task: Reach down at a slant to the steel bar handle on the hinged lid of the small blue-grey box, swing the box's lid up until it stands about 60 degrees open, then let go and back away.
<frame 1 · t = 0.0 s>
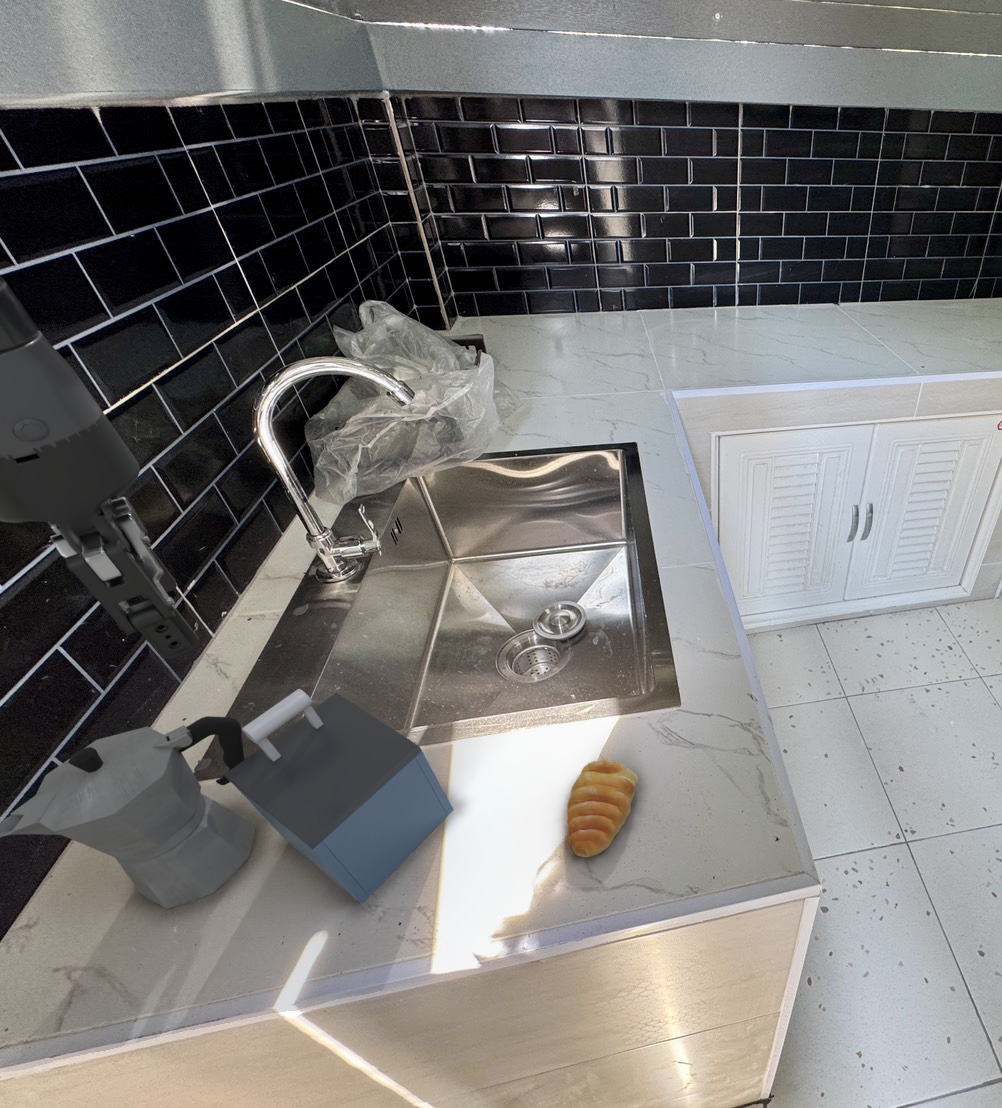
hand: (172, 620, 45), 28 cm above the worktop, tool pointing down, fingers open, 8 cm apart
blue-grey box: (372, 825, 62), on the worktop
pastry: (604, 810, 64), on the worktop
washer lid: (314, 747, 53), point 14 cm above the worktop, hinge at 0.0°
coffeepot: (216, 851, 60), on the worktop
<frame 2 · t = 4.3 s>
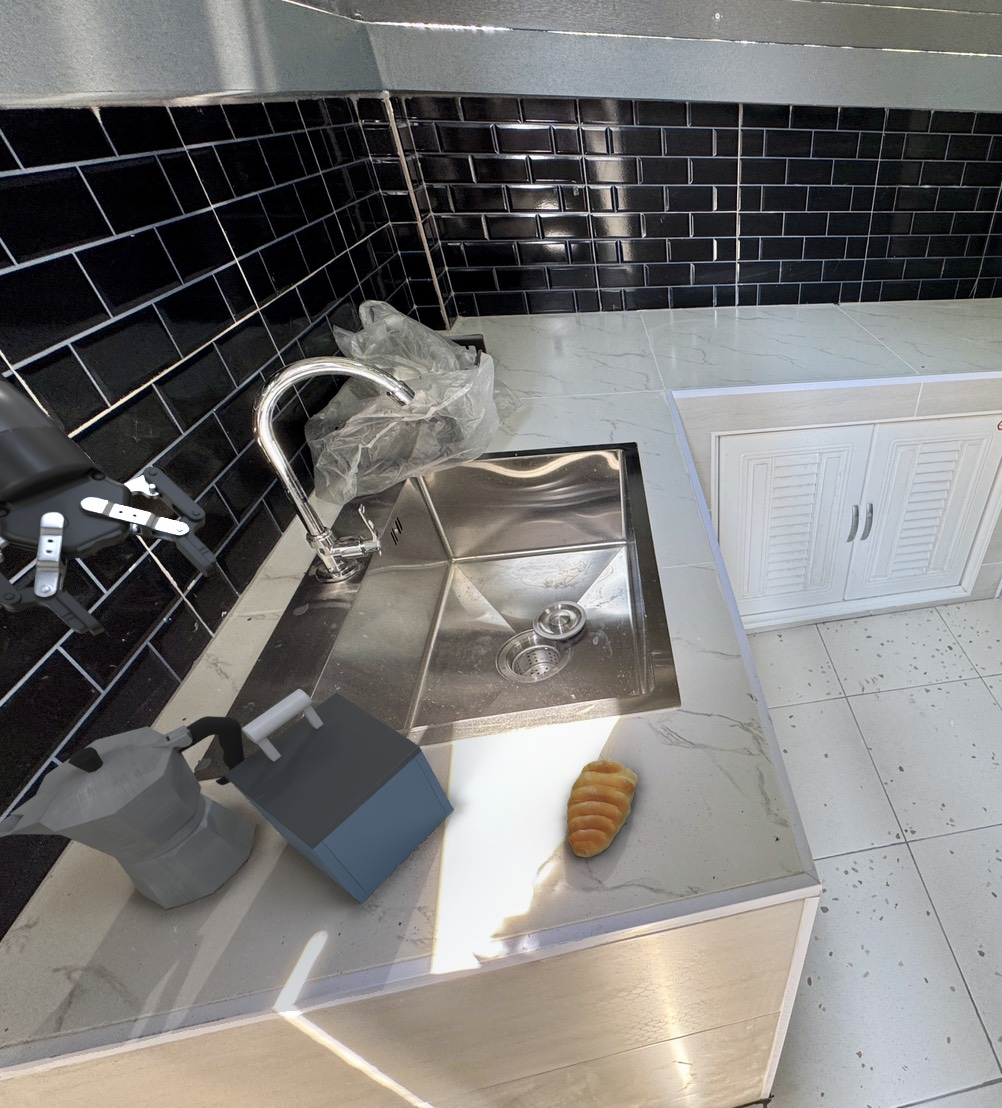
hand: (157, 600, 53), 24 cm above the worktop, tool tilted 45°, fingers open, 8 cm apart
nothing on the worktop moved.
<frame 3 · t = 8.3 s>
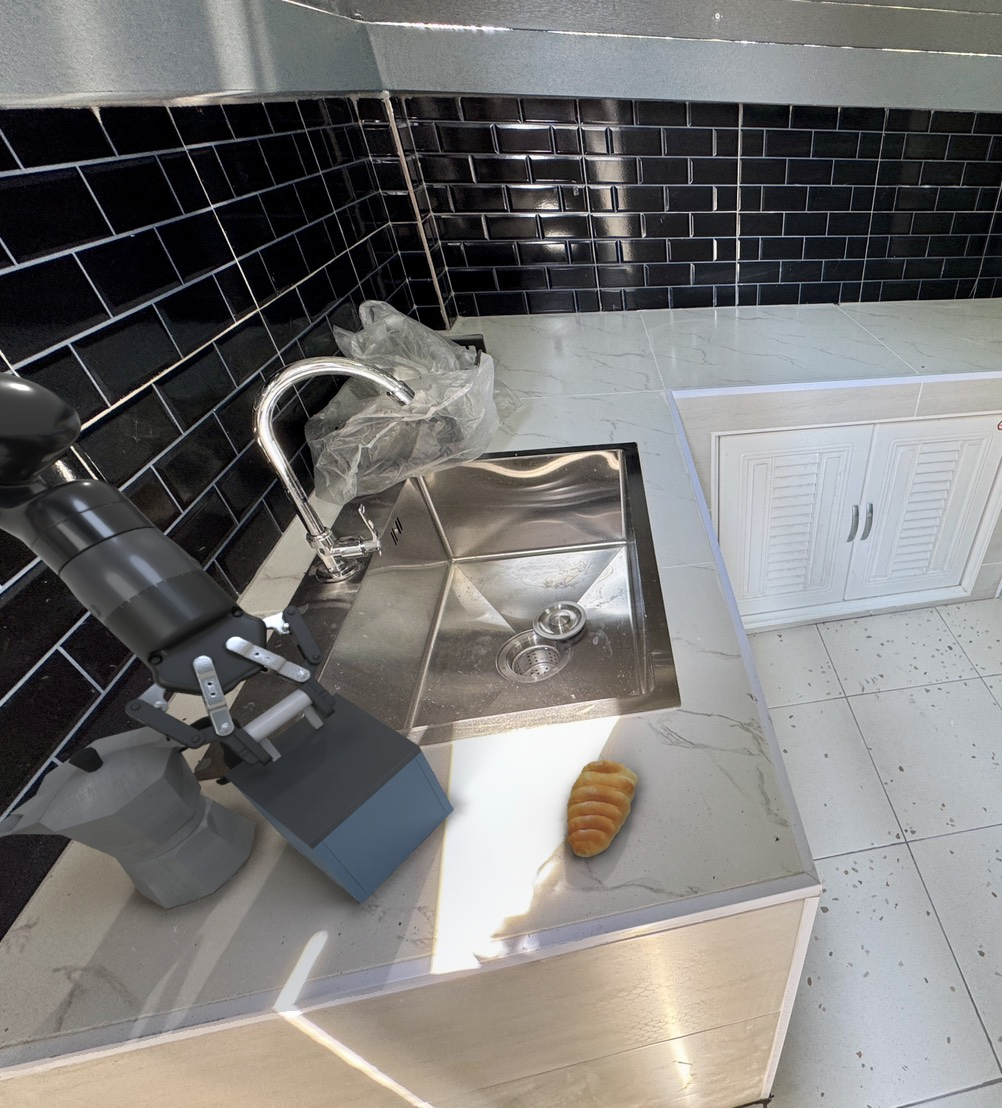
hand: (299, 737, 54), 14 cm above the worktop, tool tilted 45°, fingers closed on washer lid, 5 cm apart
washer lid: (314, 747, 53), point 14 cm above the worktop, hinge at 0.0°, touching gripper
everything else where it was.
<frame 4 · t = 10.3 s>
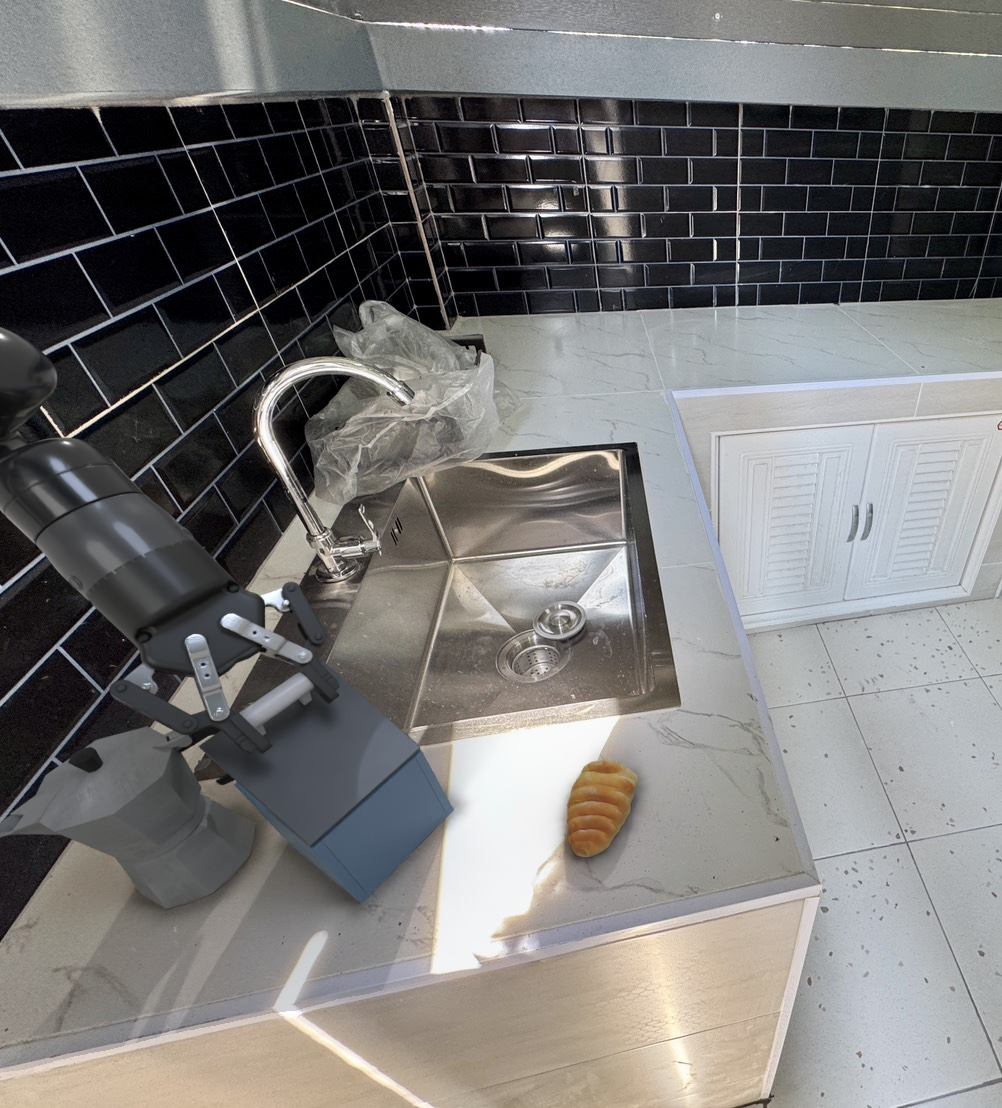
hand: (301, 723, 50), 18 cm above the worktop, tool tilted 45°, fingers closed on washer lid, 5 cm apart
washer lid: (314, 739, 51), point 16 cm above the worktop, hinge at 27.8°, touching gripper
everything else where it was.
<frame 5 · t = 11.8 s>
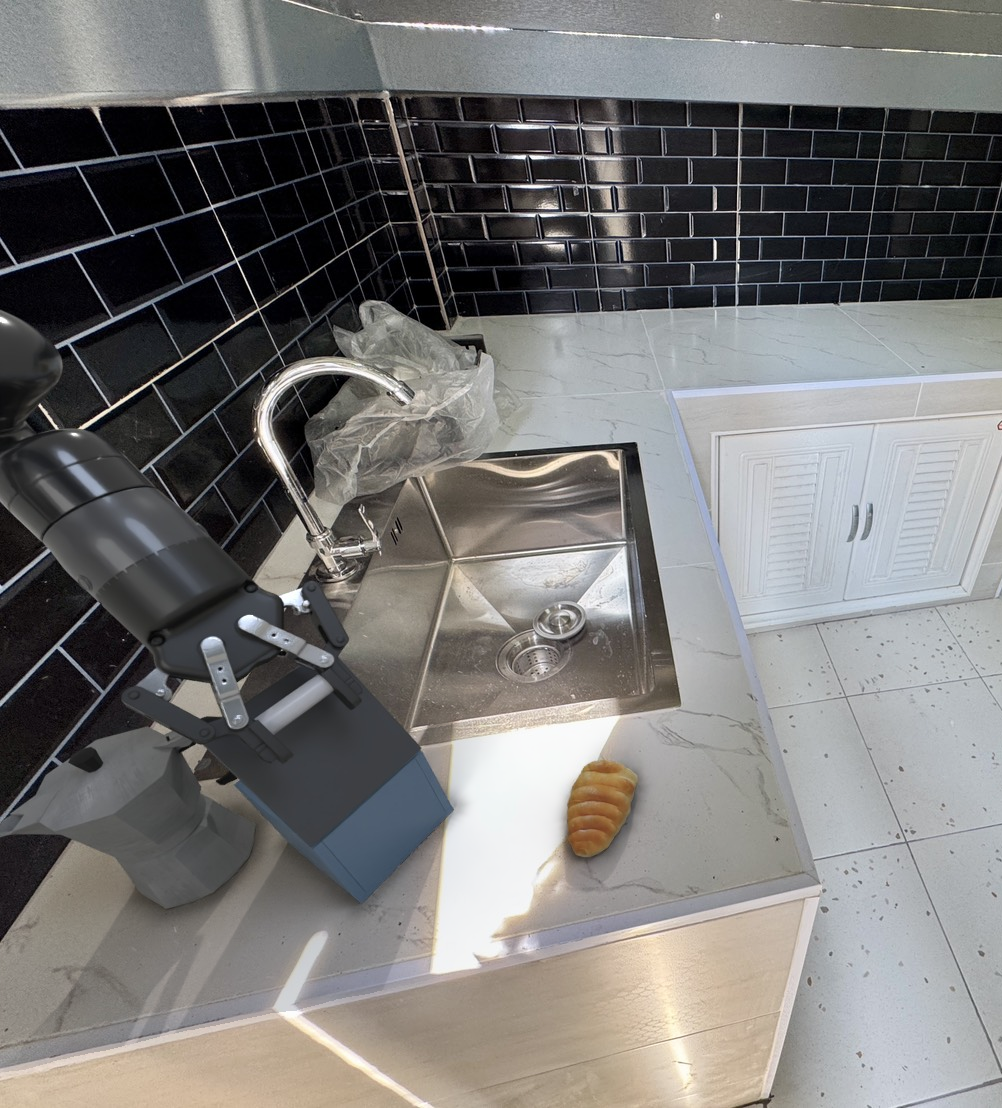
hand: (323, 731, 47), 20 cm above the worktop, tool tilted 45°, fingers closed on washer lid, 5 cm apart
washer lid: (325, 742, 49), point 18 cm above the worktop, hinge at 51.3°, touching gripper
everything else where it was.
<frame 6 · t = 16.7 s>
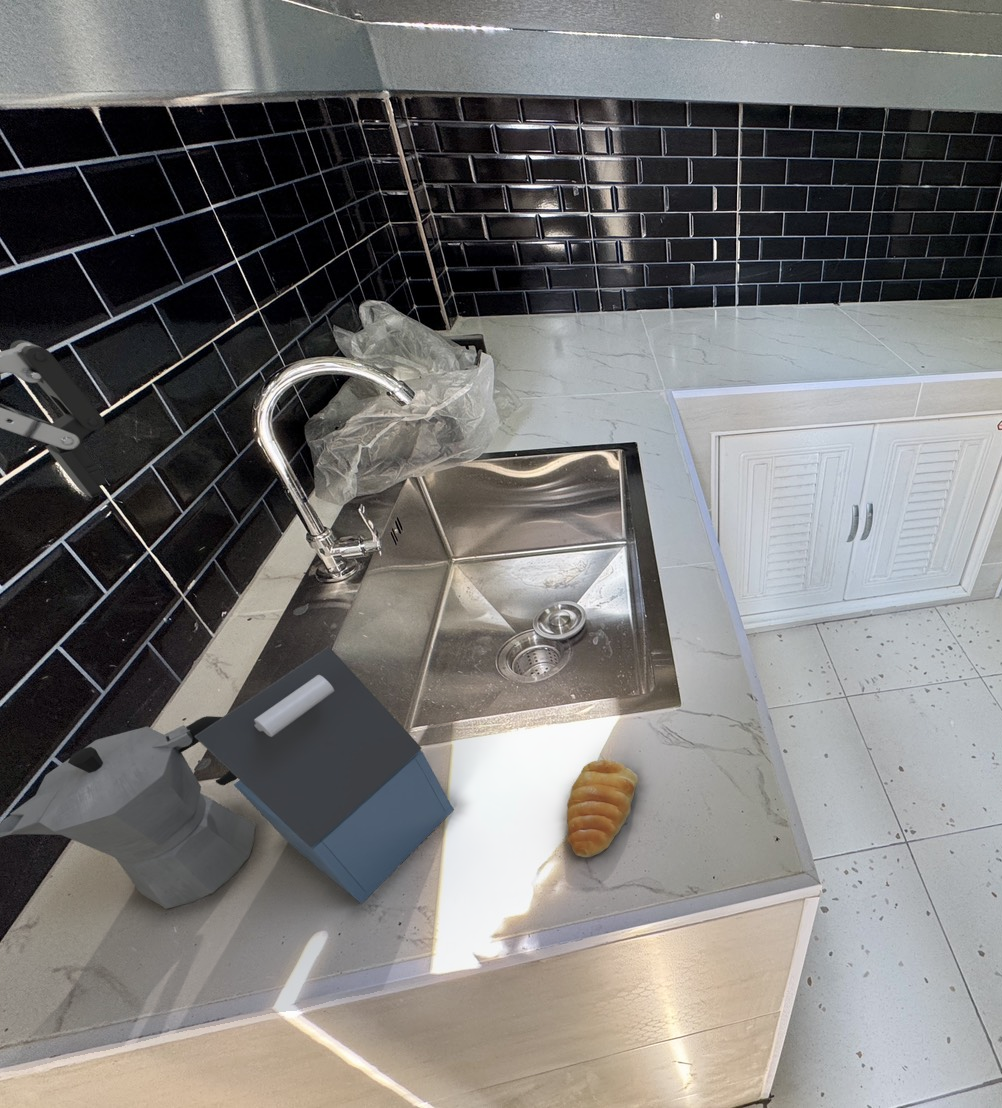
hand: (16, 522, 41), 36 cm above the worktop, tool pointing down, fingers open, 8 cm apart
washer lid: (325, 742, 49), point 18 cm above the worktop, hinge at 51.8°
everything else where it was.
at the end: washer lid at +52° (first picture: +0°); the gripper is holding nothing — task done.
